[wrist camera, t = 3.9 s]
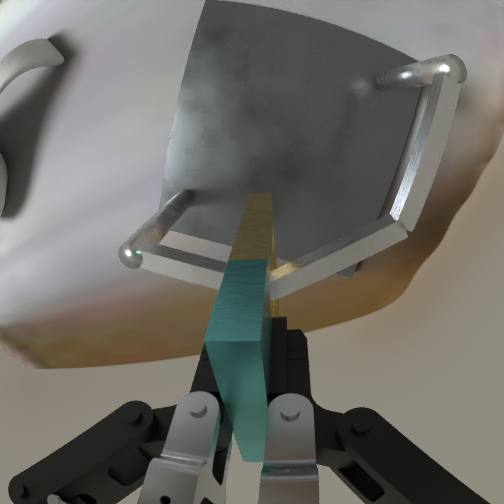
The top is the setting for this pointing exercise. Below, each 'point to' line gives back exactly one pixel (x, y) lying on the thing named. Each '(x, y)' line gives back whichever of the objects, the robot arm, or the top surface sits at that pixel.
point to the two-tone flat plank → (246, 327)
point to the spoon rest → (15, 65)
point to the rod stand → (295, 144)
